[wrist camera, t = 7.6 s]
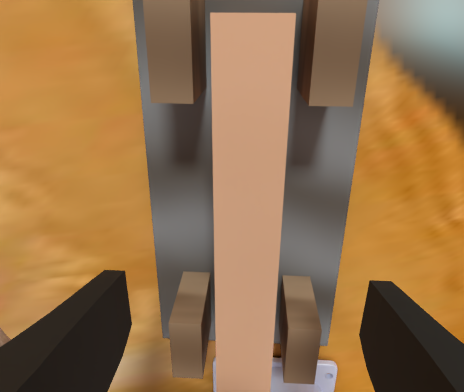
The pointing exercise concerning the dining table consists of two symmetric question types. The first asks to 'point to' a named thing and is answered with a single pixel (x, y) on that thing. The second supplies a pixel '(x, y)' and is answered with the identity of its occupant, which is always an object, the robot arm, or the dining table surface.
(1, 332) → the wooden fragment
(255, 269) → the clay strip
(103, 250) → the dining table surface
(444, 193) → the dining table surface
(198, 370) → the grey panel
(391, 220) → the dining table surface
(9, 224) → the dining table surface
